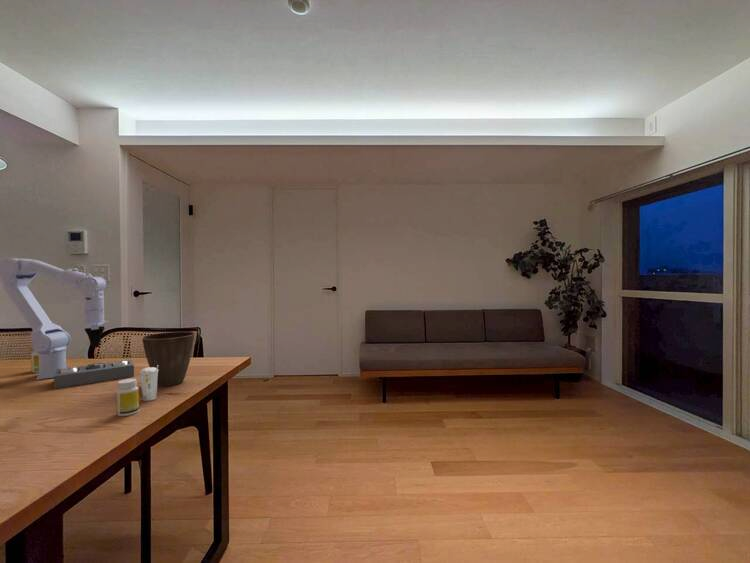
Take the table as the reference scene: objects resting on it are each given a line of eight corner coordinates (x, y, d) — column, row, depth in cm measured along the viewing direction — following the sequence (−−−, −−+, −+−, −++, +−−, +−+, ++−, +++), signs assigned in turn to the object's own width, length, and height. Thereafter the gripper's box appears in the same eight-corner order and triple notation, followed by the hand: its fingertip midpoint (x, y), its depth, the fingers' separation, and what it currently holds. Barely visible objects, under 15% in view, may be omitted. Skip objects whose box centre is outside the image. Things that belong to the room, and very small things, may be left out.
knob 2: (112, 373, 127) (112, 360, 127) (127, 371, 130) (127, 359, 130) (113, 376, 124) (113, 363, 124) (128, 373, 127) (128, 361, 127)
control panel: (56, 380, 120) (56, 369, 120) (131, 370, 133) (130, 359, 133) (54, 388, 112) (53, 376, 112) (134, 376, 125) (133, 365, 125)
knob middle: (87, 376, 123) (87, 363, 123) (103, 374, 126) (103, 361, 126) (87, 379, 119) (87, 366, 119) (104, 377, 122) (103, 364, 122)
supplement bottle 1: (27, 372, 132) (26, 346, 131) (44, 368, 137) (43, 344, 137) (38, 373, 130) (37, 347, 130) (54, 369, 135) (53, 344, 135)
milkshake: (152, 402, 99) (151, 367, 98) (136, 401, 100) (135, 366, 100) (165, 397, 103) (164, 363, 103) (149, 396, 104) (148, 362, 104)
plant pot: (131, 388, 111) (130, 338, 111) (170, 375, 126) (169, 330, 126) (169, 392, 107) (168, 340, 107) (205, 378, 122) (204, 332, 122)
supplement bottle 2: (143, 410, 93) (142, 379, 93) (125, 417, 88) (124, 384, 88) (130, 408, 94) (129, 377, 94) (112, 415, 90) (111, 382, 90)
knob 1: (61, 381, 118) (60, 367, 118) (78, 378, 121) (77, 365, 121) (60, 384, 115) (59, 370, 115) (77, 381, 118) (77, 368, 118)
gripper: (108, 310, 124) (109, 348, 125) (107, 307, 136) (108, 342, 136) (83, 312, 120) (84, 351, 120) (83, 309, 131) (84, 345, 131)
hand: (95, 347), depth 128 cm, fingers closed
